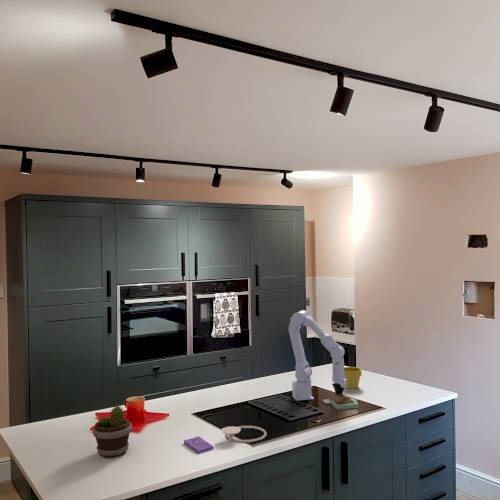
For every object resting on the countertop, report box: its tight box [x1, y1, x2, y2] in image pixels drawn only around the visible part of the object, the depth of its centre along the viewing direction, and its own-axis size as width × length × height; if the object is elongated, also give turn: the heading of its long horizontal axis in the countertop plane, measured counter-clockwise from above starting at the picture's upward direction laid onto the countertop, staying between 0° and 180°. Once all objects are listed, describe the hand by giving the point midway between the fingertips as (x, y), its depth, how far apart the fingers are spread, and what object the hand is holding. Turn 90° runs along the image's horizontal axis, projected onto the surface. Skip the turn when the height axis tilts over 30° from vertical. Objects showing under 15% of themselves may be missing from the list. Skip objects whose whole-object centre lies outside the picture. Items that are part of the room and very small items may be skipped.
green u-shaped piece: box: [321, 396, 359, 411], centre depth 250 cm, size 16×14×2 cm
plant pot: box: [344, 366, 362, 390], centre depth 278 cm, size 10×10×10 cm
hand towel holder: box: [220, 425, 268, 443], centre depth 212 cm, size 17×4×20 cm
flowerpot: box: [92, 403, 133, 459], centre depth 198 cm, size 14×15×20 cm
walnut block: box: [333, 393, 351, 405], centre depth 250 cm, size 6×6×4 cm
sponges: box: [183, 435, 214, 454], centre depth 203 cm, size 7×13×2 cm, turn 34°
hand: (339, 398), depth 254 cm, fingers closed
